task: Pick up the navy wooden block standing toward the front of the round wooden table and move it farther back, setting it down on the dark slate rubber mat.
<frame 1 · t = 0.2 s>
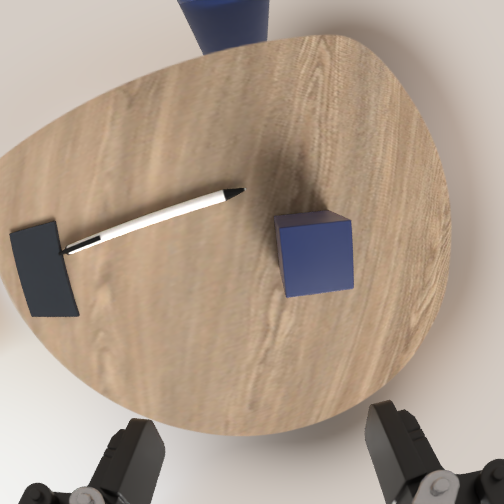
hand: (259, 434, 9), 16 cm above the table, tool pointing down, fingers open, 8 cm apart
pen: (139, 222, 23), on the table
block: (304, 240, 23), on the table
mat: (41, 272, 25), on the table
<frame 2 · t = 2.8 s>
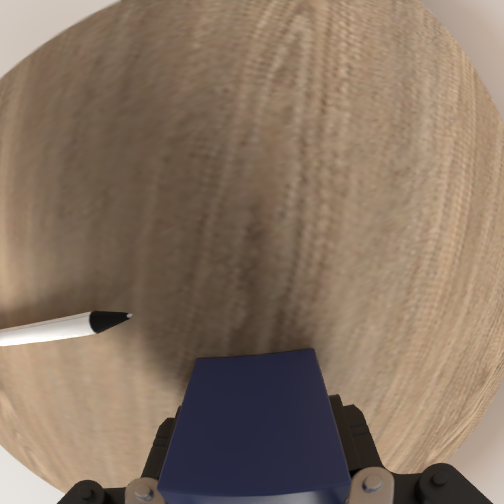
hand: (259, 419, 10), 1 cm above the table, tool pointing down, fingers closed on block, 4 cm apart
pen: (7, 332, 11), on the table
block: (260, 396, 11), on the table, touching gripper
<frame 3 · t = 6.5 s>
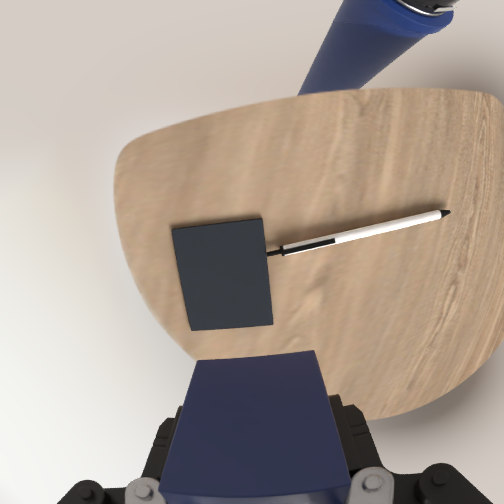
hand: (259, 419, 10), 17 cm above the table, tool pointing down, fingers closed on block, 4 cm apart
pen: (368, 229, 25), on the table
block: (261, 398, 11), point 16 cm above the table, touching gripper
mat: (224, 278, 26), on the table
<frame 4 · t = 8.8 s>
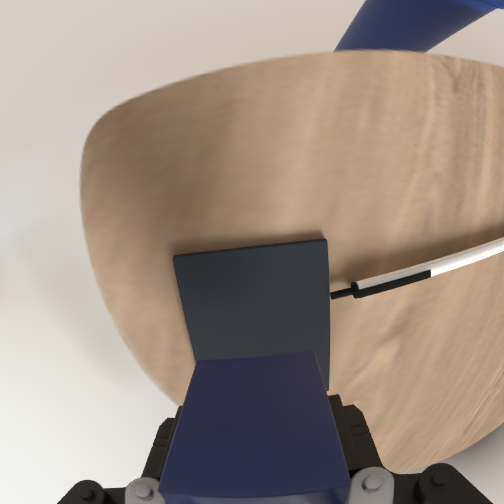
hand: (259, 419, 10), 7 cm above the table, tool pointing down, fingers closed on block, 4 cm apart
pen: (463, 253, 15), on the table
block: (260, 398, 11), point 5 cm above the table, touching gripper
mat: (259, 331, 16), on the table
when the fingers open (2 cm above the table, at t = 10.4 s): block stays where it is, resting on mat.
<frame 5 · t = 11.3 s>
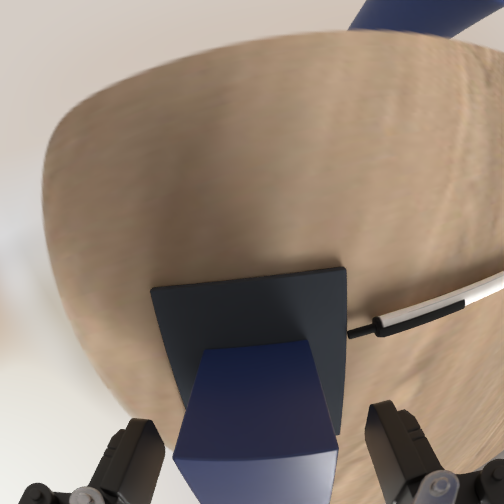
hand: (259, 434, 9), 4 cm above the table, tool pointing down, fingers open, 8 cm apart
pen: (495, 276, 11), on the table
block: (261, 384, 12), resting on mat
mat: (259, 377, 13), on the table
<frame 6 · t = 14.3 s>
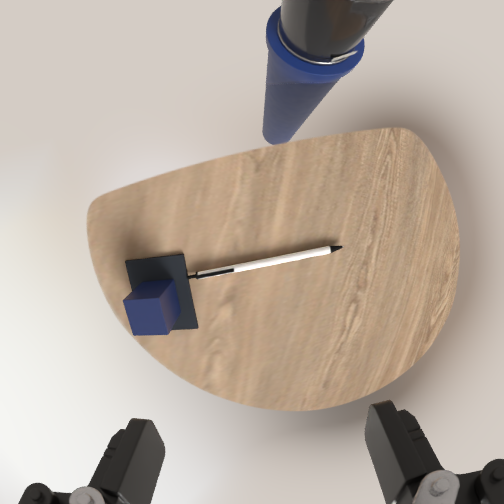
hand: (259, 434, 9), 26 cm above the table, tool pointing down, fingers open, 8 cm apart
pen: (264, 261, 34), on the table
block: (161, 297, 35), resting on mat
mat: (161, 294, 36), on the table
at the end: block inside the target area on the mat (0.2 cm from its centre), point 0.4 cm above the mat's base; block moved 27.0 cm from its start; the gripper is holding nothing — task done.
